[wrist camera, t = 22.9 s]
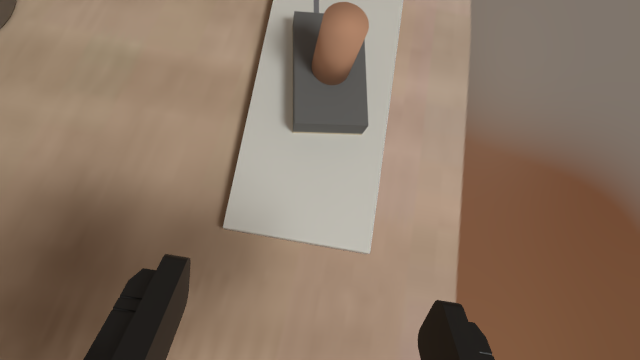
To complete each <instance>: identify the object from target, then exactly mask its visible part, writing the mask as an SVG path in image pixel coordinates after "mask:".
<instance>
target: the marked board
mask: <svg viewBox="0 0 640 360" xmlns="http://www.w3.org/2000/svg"><path fill="white" fill-rule="evenodd" d="M338 2H349V3H352V4H355V5H357V6H358V7H360V8H361V9H362V10H363V11H364V12H365V14H366V16H367V18H368V21H369V29H368V32H367V35H366V37H365V61H366V83H367V106H368V127H367V128H366V130H365V131H364V132H363V134H362V135H349V134H317V133H292V26H293V18H294V11H299V12H313V13H325V11H326V9H327V8H328V7H329V6H331V5H332V4H334V3H338ZM402 7H403V0H273V3H272V8H271V12H270V17H269V21H268V26H267V30H266V35H265V39H264V44H263V48H262V53H261V57H260V62H259V66H258V71H257V75H256V80H255V84H254V89H253V93H252V98H251V102H250V107H249V111H248V116H247V120H246V125H245V129H244V134H243V138H242V143H241V147H240V152H239V156H238V161H237V165H236V170H235V174H234V179H233V183H232V188H231V192H230V197H229V201H228V206H227V210H226V215H225V219H224V224H223V228H224V229H226V230H232V231H237V232H243V233H249V234H254V235H260V236H266V237H271V238H277V239H283V240H288V241H294V242H300V243H305V244H311V245H317V246H322V247H328V248H334V249H339V250H345V251H351V252H356V253H362V254H370V250H371V242H372V235H373V227H374V219H375V212H376V204H377V197H378V189H379V182H380V174H381V166H382V159H383V151H384V144H385V136H386V128H387V121H388V113H389V106H390V98H391V91H392V83H393V75H394V68H395V60H396V53H397V45H398V38H399V30H400V22H401V15H402Z"/></svg>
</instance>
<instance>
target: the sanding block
mask: <svg viewBox="0 0 640 360" xmlns="http://www.w3.org/2000/svg"><path fill="white" fill-rule="evenodd" d="M368 29H369V21H368V18H367V16H366V14H365V12H364V11H363V10H362V9H361V8H360V7H358V6H357V5H355V4H352V3H349V2H338V3H334V4H332V5H331V6H329V7H328V8H327V9H326V11H325V13H313V12H299V11H294V18H293V26H292V133H317V134H349V135H362V134H363V132H364V131H365V130H366V128H367V127H368V106H367V83H366V61H365V37H366V35H367V32H368Z"/></svg>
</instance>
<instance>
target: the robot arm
mask: <svg viewBox="0 0 640 360" xmlns="http://www.w3.org/2000/svg"><path fill="white" fill-rule="evenodd" d="M15 3H16V0H0V28H1V27H2V26H3V25H4V24H5V23H6V21H7V20H8V19H9V18H10V16H11V14H12V12H13V10H14V7H15ZM189 277H190V258H186V257H180V256H174V255H168V254H165V255H164V256H163V258H162V260H161V262H160V264H159V266H158V268H157V270H150V269H144V268H143V269H142V270H141V271H139V272H138V273H137V274H136V275H134V276H133V277H132V278H131V279H130V280H129V281H128V282H127V284H126V286H125V288H124V289H123V291H122V293H121V295H120V298H118V300H117V302H116V304H115V305H114V307H113V310H112V311H111V312H110V314H109V316H108V318H107V319H106V321H105V323H104V325H103V326H102V328H101V330H100V332H99V333H98V335H97V337H96V339H95V340H94V342H93V344H92V346H91V348H90V349H89V351H88V353H87V355H86V356H85V358H84V359H83V360H166V358H167V355H168V352H169V350H170V347H171V344H172V342H173V339H174V336H175V334H176V331H177V328H178V326H179V323H180V320H181V318H182V315H183V312H184V310H185V306H186V303H187V298H188V292H189ZM418 349H419V353H420V358H421V360H495V359H494V357H493V356H492V352H491V349H490V346H489V344H488V341H487V339H486V337H485V336H484V334H483V333H482V332H481V331H480V329H479V328H478V327H477V325H476V324H475V323H473V322H468V319H467V317H466V314H465V312H464V309H463V307H462V305H461V304H458V303H452V302H446V301H440V300H437V301H435V302H434V304H433V306H432V308H431V309H430V311H429V313H428V315H427V317H426V319H425V320H424V322H423V324H422V326H421V328H420V330H419V334H418Z"/></svg>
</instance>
